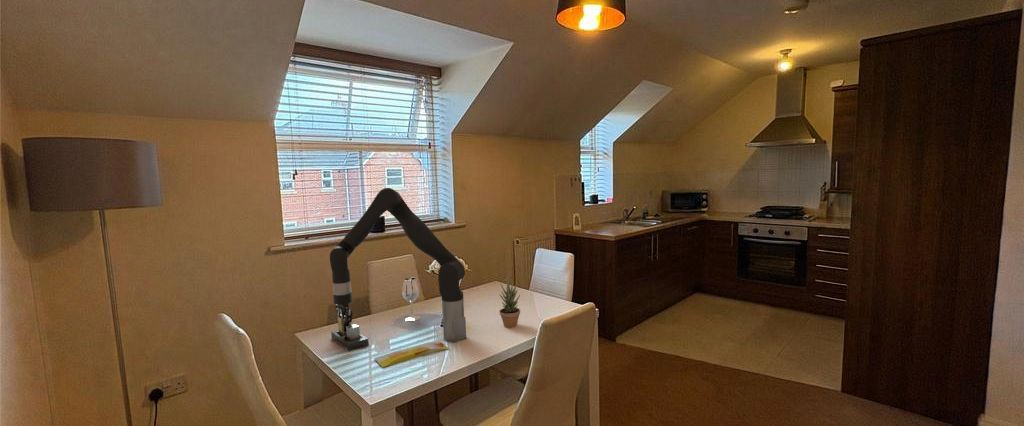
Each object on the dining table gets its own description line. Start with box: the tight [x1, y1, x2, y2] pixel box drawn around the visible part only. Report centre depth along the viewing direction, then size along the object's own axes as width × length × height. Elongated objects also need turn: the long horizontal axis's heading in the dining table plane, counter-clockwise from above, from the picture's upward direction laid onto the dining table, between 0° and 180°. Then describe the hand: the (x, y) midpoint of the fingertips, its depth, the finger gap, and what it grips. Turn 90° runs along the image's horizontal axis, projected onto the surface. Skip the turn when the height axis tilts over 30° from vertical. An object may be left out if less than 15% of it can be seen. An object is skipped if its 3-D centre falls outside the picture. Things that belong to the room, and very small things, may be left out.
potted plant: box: [498, 273, 521, 329], centre depth 197 cm, size 10×10×25 cm
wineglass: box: [402, 277, 421, 322], centre depth 211 cm, size 8×8×20 cm
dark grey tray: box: [330, 329, 370, 352], centre depth 185 cm, size 20×8×3 cm, turn 42°
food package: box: [373, 340, 449, 368], centre depth 170 cm, size 27×2×10 cm
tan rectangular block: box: [337, 316, 352, 336], centre depth 188 cm, size 4×4×8 cm
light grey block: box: [346, 323, 361, 342], centre depth 181 cm, size 4×4×8 cm
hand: (345, 330), depth 188 cm, fingers closed on tan rectangular block, 4 cm apart
